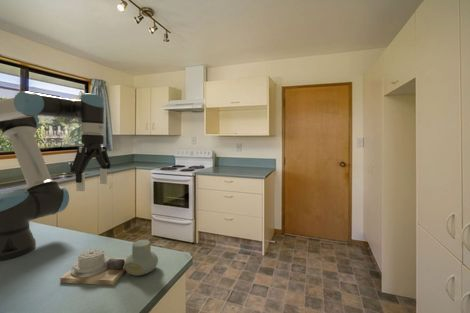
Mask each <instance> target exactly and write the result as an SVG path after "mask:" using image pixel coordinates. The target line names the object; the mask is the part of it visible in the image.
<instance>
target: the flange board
mask: <svg viewBox="0 0 470 313" xmlns="http://www.w3.org/2000/svg"><path fill="white" fill-rule="evenodd" d="M126 259H127V258H119V257H115V258H114V257H108V262H107V265H106V266H104V267H103V268H101V269H99V270H96V271H93V272H88V273H78V272H76V271H75V270H74V265H73V266H72V267H71V269H70V270H68V271H67V272H66V273H65V274H64V275H62V276H61V277H60V278H59V280H60V283H68V284H85V285H88V284H89V285H103V286H104V285H106V286H113V285H115V284H116V282H117V281H118V280H119V279H120V278H121V277H122V276H123V275H124V273H126V272H127V271H126V270H125V268H124V263H125V261H126Z"/></svg>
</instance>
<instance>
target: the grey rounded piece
mask: <svg viewBox="0 0 470 313" xmlns="http://www.w3.org/2000/svg"><path fill="white" fill-rule="evenodd" d="M151 244H152V243H151V241H150V240H147V239H139V240H136V241H134V242H133V243H132V246H131V252H132V253H131V254H130V255H129V256H127V258H125V259H126V261H125V263H124V268H125V270H126V271H125V272H127V273H128V274H129V275H132V276H137V277H138V276H143V275H146V274H149V273H151V272H152V271H154V269H156V267H157V265H158V263H159V258H158V256H157V254H156V253H155V252H153V251H151Z"/></svg>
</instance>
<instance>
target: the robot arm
mask: <svg viewBox="0 0 470 313" xmlns="http://www.w3.org/2000/svg"><path fill="white" fill-rule="evenodd" d="M80 95H81V97H80V99H70V98H64V97H60V96H59V97H58V96H52V95H47V94H42V93H37V92H34V91H25V90H24V91H18V92H17V93H16V94H15V96H14V97H12V98H6V99H1V100H0V131H1V132H2V135H3V137H5V138H6V139H9V141H10V143H11V146H12V149H13V151H14V154H15V156H16V159H17V162H18V165H19V166H20V167H19V168H20V169H21V172H22V174H23V177H24V179H25V180H24V181H25V183H26V185H27V187H26V188H25V189H16V190H10V191H4V192H0V261H5V260H10V259H13V258H18V257H21V256H22V255H26V254H28V253H30V252H31V251H33V250H35V248H36V246H37V244H36V243H37V241H36V239H35V237H34V235H33V233H32V231H31V227H30V221H32V220H36V219H40V218H41V219H42V218H44V217H48V216H53V215H56V214H57V213H61V212H63V211H65V210H66V209H67V207H68V205H69V203H70V202H69V201H70V194H69V190H68V189H67V188H66V187H65V186H62V185H61V186H60V185H59V183H58V182H57V181H56V180H54V179H52V177H51V174H50V172H49V169H48V167H47V164H46V162H45V159H44V156H43V153H42V151H41V149H40V145H39V144H38V142H37V138H36V137H35V134H36V133H37V131H38V129H39V126H40V123H39V122H40V119H39V117H41V116H42V117H54V118H63V119H67V120H74V119H75V120H79V119H81V121H80V122H81V124H80V125H81V126H80V133H81V137H80V138H81V139H80V140H81V141H80V142H81V144H83V146H77V148H76V154H75V156H74V160H73V162H72V166H71V168H70V173H71V174H75V184H76V186H75V187H76V188H75V189H76V192H85V191H86V188H85V187H86V180H85V179H86V178H85V173H84V171H85V169H86V168H87V166H88V165H89V162H90V161H91V160H92V159H96V161H97V163H98V164H99V166H100V167H101V168H99V183H100V185H108V169H110V168H111V166H112V164H111V161H110V158H109V155H108V152H107V146H106V145H104V143H105V142H104V140H105V137H104V135H103V134H104V131H105V130H104V128H105V127H104V123H105V122H104V121H105V120H104V118H105V116H104V113H105V112H104V111H105V105H104V97H103V96H101V95H100V94H94V93H82V94H80Z"/></svg>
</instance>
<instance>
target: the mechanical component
mask: <svg viewBox="0 0 470 313" xmlns="http://www.w3.org/2000/svg"><path fill="white" fill-rule="evenodd" d="M77 258H78V260H77V261H75V263H74V265H73V266H74V270H75V271H76V272H78V273H88V272H93V271H96V270H99V269H101V268H103V267H104V266H106V265H107V262H108V258H109V256H107V255H105V250H103V249H102V248H94V249H89V250H85V251H83V252H81V253H79V255H78V257H77Z"/></svg>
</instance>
